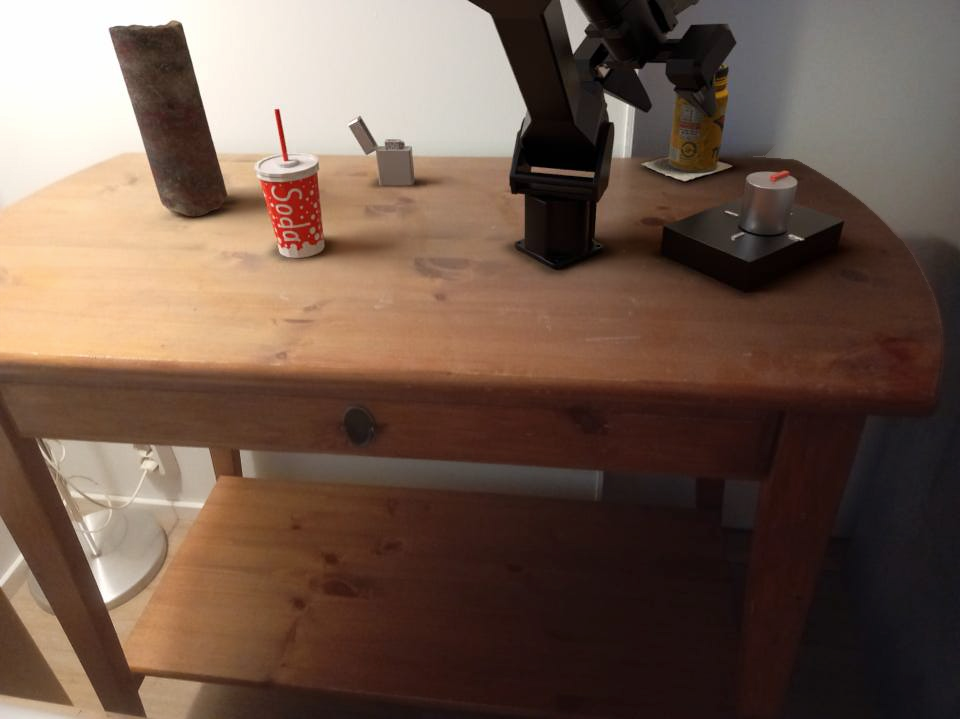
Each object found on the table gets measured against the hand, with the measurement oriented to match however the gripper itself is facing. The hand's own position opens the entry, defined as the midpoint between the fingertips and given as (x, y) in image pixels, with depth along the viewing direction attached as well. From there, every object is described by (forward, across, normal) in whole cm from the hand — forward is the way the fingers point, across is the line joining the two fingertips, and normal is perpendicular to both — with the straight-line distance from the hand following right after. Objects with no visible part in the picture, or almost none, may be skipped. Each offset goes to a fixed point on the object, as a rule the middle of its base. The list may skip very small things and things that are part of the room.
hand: (679, 112), depth 82 cm
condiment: (+11, +5, 0) cm, 12 cm away
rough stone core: (-25, +32, +39) cm, 57 cm away
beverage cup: (-20, +13, +37) cm, 44 cm away
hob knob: (+2, -17, +11) cm, 20 cm away
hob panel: (+4, -15, +12) cm, 20 cm away
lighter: (-11, +24, +23) cm, 36 cm away
